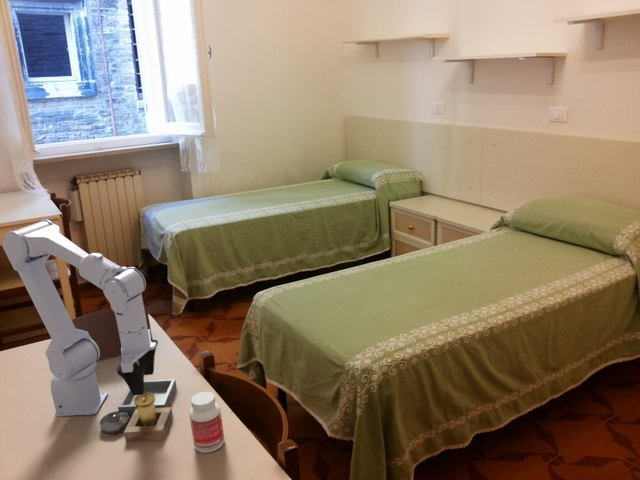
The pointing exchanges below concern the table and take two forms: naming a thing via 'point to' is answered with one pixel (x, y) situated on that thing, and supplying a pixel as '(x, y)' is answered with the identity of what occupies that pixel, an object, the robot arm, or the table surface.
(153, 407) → the lock pin
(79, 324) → the letter holder
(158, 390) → the tray
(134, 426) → the block
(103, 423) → the pulley
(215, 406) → the pill bottle
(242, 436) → the table surface
